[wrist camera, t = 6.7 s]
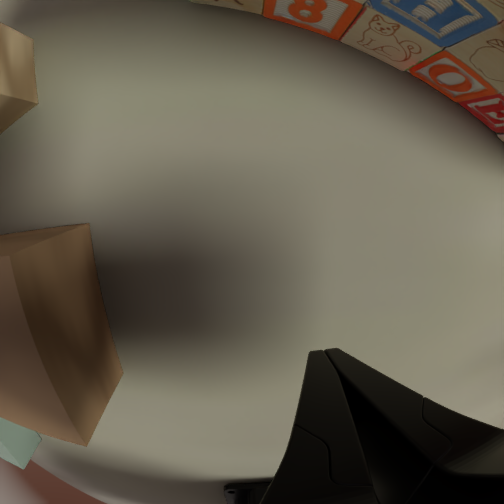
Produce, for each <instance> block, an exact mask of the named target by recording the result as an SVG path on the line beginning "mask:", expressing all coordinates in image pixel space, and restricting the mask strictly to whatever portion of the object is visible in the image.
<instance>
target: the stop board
mask: <svg viewBox="0 0 504 504" xmlns="http://www.w3.org/2000/svg"><path fill="white" fill-rule="evenodd" d="M40 441H41V438H40V436H39V435H38V433H37V432H36V431H33V430H31V429H28V428H25V427H23V426H20V425H18V424H15V423H13V422H10V421H8V420H6V419H3V418H1V417H0V457H1V458H2V459H4V460H6V461H8V462H10V463H12V464H14V465H16V466H18V467H20V468H22V469H24V468H25V466H26V465H27V463H28V461H29V460H30V458H31V456H32V455H33V453H34V451H35V449H36V448H37V446H38V444H39V443H40Z"/></svg>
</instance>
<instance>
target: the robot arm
mask: <svg viewBox="0 0 504 504" xmlns="http://www.w3.org/2000/svg"><path fill="white" fill-rule="evenodd" d="M224 494H225V498H226V501H227V504H504V429H500V428H497V427H495V426H492V425H489V424H486V423H483V422H481V421H478V420H475V419H472V418H470V417H467V416H465V415H462V414H460V413H457V412H455V411H452V410H450V409H448V408H446V407H444V406H442V405H440V404H438V403H436V402H434V401H432V400H430V399H428V398H426V397H424V398H423V396H422V395H420V394H419V393H417V392H415V391H413V390H411V389H409V388H408V387H406V386H404V385H402V384H400V383H398V382H397V381H395V380H393V379H391V378H389V377H388V376H386V375H384V374H382V373H380V372H379V371H377V370H375V369H373V368H372V367H370V366H368V365H366V364H365V363H363V362H361V361H359V360H358V359H356V358H354V357H352V356H351V355H349V354H347V353H345V352H344V351H342V350H340V349H338V348H332V349H325V350H324V351H323V350H316V351H310V352H309V354H308V360H307V365H306V370H305V375H304V380H303V384H302V389H301V394H300V398H299V403H298V407H297V412H296V416H295V420H294V424H293V428H292V432H291V436H290V439H289V443H288V446H287V449H286V452H285V454H284V457H283V459H282V461H281V464H280V466H279V468H278V470H277V472H276V474H275V476H274V478H273V480H272V482H271V483H263V484H240V485H226V486H224Z"/></svg>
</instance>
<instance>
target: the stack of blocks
mask: <svg viewBox="0 0 504 504" xmlns="http://www.w3.org/2000/svg"><path fill="white" fill-rule="evenodd" d="M190 2H193V3H200V4H208V5H215V6H221V7H227V8H232V9H238V10H243V11H247V12H252V13H256V14H260V15H263V16H264V17H267V18H270V19H274V20H278V21H281V22H285V23H288V24H291V25H295V26H298V27H301V28H304V29H307V30H310V31H313V32H316V33H319V34H322V35H324V36H327V37H330V38H332V39H335V40H339V41H341V42H343V43H345V44H347V45H349V46H352V47H354V48H356V49H358V50H360V51H362V52H365V53H367V54H369V55H371V56H373V57H375V58H377V59H379V60H381V61H383V62H385V63H387V64H389V65H391V66H393V67H395V68H397V69H399V70H401V71H407V72H409V73H411V74H412V75H413V76H415V77H417V78H419V79H421V80H422V81H424V82H426V83H428V84H429V85H430V86H432V87H433V88H435V89H437V90H438V91H440V92H441V93H443V94H444V95H446V96H447V97H449V98H450V99H451V100H453V101H454V102H458V103H459V104H460V105H461V106H463V107H464V108H465V109H467V110H468V111H469V112H470V113H472V114H473V115H474V116H475V117H477V118H478V119H479V120H481V121H482V122H483V123H484V124H485V125H487V126H488V127H489V128H490V129H491V130H493V131H495V132H496V134H497V136H498V137H499V138H500V139H501V140H502V141H503V142H504V0H190Z"/></svg>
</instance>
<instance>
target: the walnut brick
mask: <svg viewBox="0 0 504 504" xmlns="http://www.w3.org/2000/svg"><path fill="white" fill-rule="evenodd" d="M122 375H123V370H122V367H121V364H120V361H119V358H118V355H117V351H116V348H115V345H114V341H113V338H112V334H111V331H110V327H109V323H108V319H107V315H106V311H105V307H104V303H103V299H102V294H101V290H100V285H99V280H98V275H97V270H96V264H95V259H94V253H93V246H92V240H91V233H90V225H89V223H86V224H77V225H69V226H61V227H53V228H46V229H38V230H31V231H24V232H17V233H11V234H4V235H0V417H1V418H3V419H6V420H8V421H10V422H13V423H15V424H18V425H20V426H23V427H25V428H28V429H31V430H33V431H36V432H39V433H42V434H45V435H48V436H51V437H54V438H57V439H61V440H64V441H68V442H71V443H75V444H79V445H82V446H86V447H87V445H88V443H89V441H90V439H91V437H92V435H93V433H94V430H95V428H96V426H97V424H98V422H99V420H100V418H101V416H102V414H103V412H104V410H105V408H106V406H107V404H108V402H109V400H110V398H111V396H112V394H113V392H114V390H115V388H116V386H117V384H118V383H119V381H120V379H121V377H122Z"/></svg>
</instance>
